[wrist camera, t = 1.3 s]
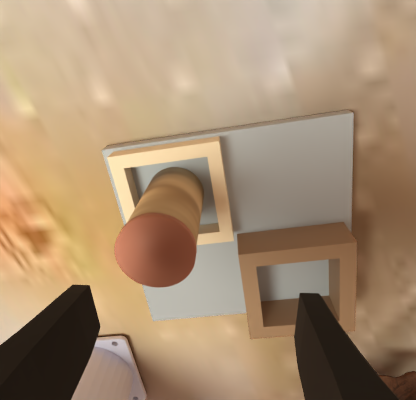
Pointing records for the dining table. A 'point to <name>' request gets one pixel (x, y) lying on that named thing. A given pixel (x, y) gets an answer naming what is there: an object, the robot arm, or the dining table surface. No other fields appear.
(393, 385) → the brown curved piece
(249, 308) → the mount
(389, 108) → the dining table surface
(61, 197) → the dining table surface
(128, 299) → the dining table surface
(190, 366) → the dining table surface
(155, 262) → the pin
